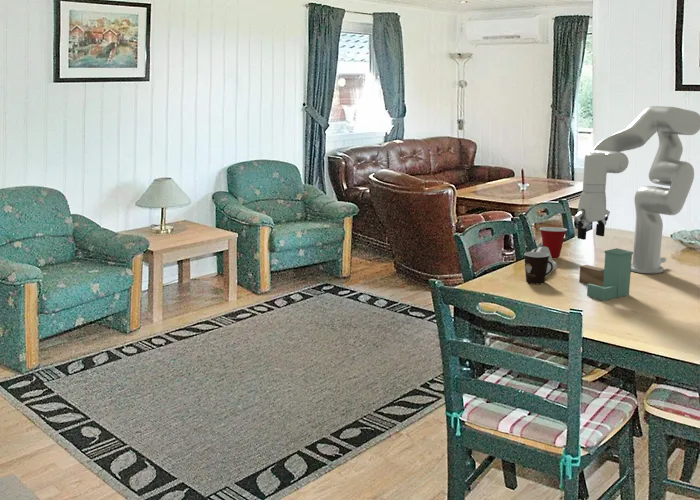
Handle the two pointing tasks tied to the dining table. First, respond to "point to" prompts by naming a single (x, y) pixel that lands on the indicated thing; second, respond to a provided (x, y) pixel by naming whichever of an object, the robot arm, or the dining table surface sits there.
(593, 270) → the brown wooden block
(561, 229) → the plastic cup
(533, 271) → the coffee mug
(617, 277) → the headboard post
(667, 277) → the dining table surface
